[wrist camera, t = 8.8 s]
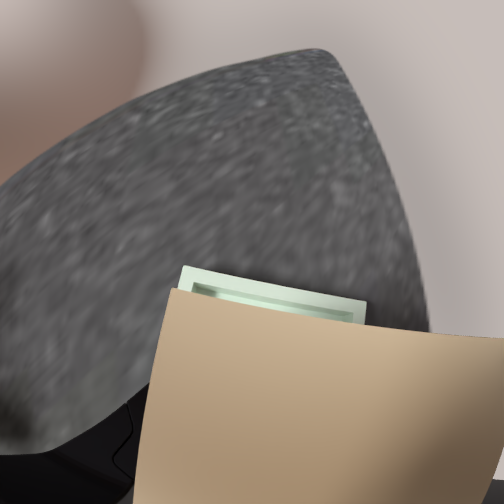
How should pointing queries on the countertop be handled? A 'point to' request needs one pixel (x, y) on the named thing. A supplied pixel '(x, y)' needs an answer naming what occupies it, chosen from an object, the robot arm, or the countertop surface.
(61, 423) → the countertop surface
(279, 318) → the beech block
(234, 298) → the green tray
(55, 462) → the robot arm
